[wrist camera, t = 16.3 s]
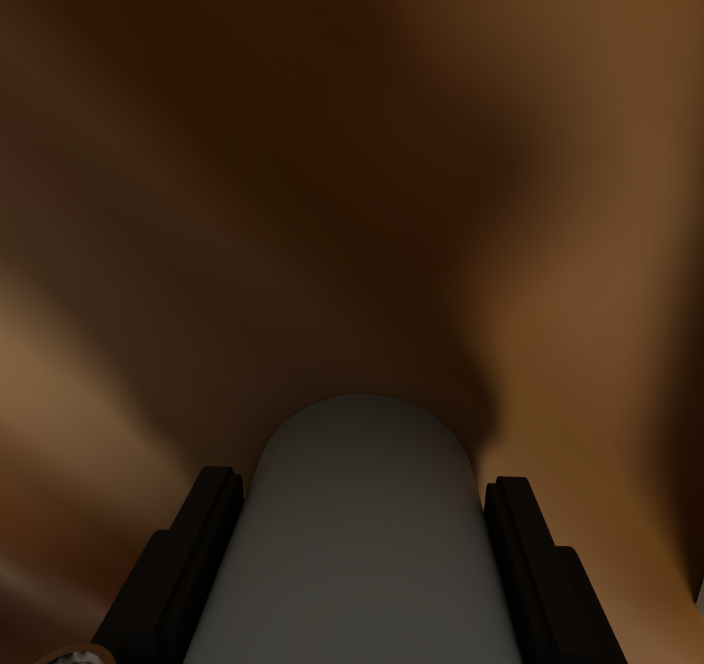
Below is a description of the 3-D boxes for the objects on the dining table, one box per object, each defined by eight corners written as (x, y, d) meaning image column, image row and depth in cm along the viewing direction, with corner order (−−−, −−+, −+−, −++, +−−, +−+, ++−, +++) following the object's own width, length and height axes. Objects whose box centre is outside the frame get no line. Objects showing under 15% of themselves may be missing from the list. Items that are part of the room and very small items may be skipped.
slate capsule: (250, 390, 12) (77, 720, 5) (483, 396, 11) (620, 753, 5) (262, 572, 13) (146, 992, 7) (466, 581, 13) (548, 1027, 7)
